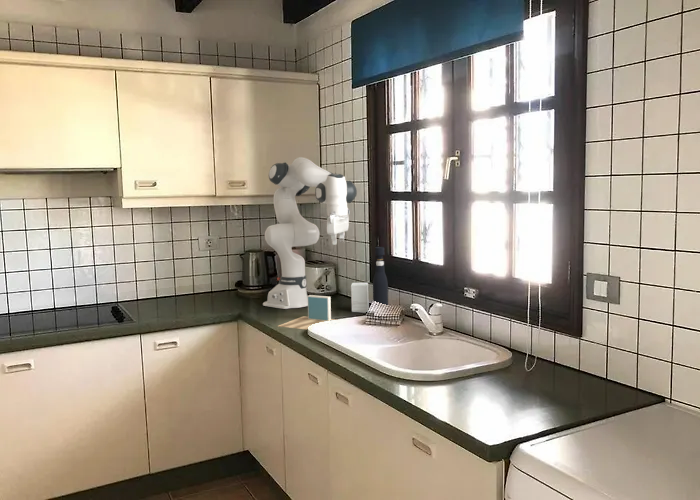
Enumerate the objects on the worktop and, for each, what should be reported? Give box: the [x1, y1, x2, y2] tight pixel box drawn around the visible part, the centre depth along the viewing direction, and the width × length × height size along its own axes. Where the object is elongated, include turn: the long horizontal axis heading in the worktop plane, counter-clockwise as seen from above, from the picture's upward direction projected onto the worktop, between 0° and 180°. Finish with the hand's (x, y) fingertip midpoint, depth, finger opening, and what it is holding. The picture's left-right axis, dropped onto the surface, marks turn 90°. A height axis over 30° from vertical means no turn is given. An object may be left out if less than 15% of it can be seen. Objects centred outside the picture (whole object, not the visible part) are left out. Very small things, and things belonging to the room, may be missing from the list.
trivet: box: [278, 315, 337, 330], centre depth 266 cm, size 20×20×1 cm
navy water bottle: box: [372, 246, 389, 306], centre depth 277 cm, size 6×6×30 cm
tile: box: [307, 294, 332, 321], centre depth 272 cm, size 10×2×10 cm, turn 62°
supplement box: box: [350, 282, 370, 314], centre depth 290 cm, size 7×7×13 cm
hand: (338, 243), depth 281 cm, fingers open, 8 cm apart
